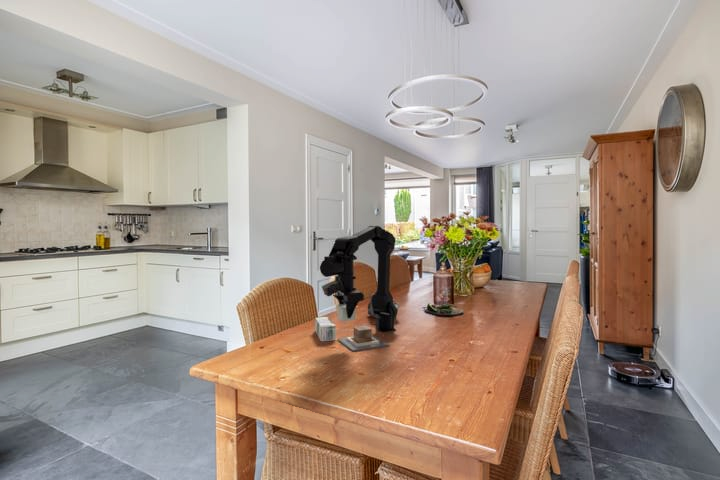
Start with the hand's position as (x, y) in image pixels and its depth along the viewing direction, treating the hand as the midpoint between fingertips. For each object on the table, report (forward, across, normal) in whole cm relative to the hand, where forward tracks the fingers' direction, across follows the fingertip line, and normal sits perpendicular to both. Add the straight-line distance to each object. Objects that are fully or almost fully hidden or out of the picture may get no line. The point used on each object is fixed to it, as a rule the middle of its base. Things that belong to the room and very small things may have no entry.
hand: (346, 316), depth 135 cm
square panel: (+11, 0, +6) cm, 12 cm away
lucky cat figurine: (+12, -31, +32) cm, 46 cm away
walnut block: (+10, 0, +6) cm, 12 cm away
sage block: (+1, 0, 0) cm, 1 cm away
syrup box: (+8, -22, -2) cm, 23 cm away
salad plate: (+13, -27, +62) cm, 69 cm away
